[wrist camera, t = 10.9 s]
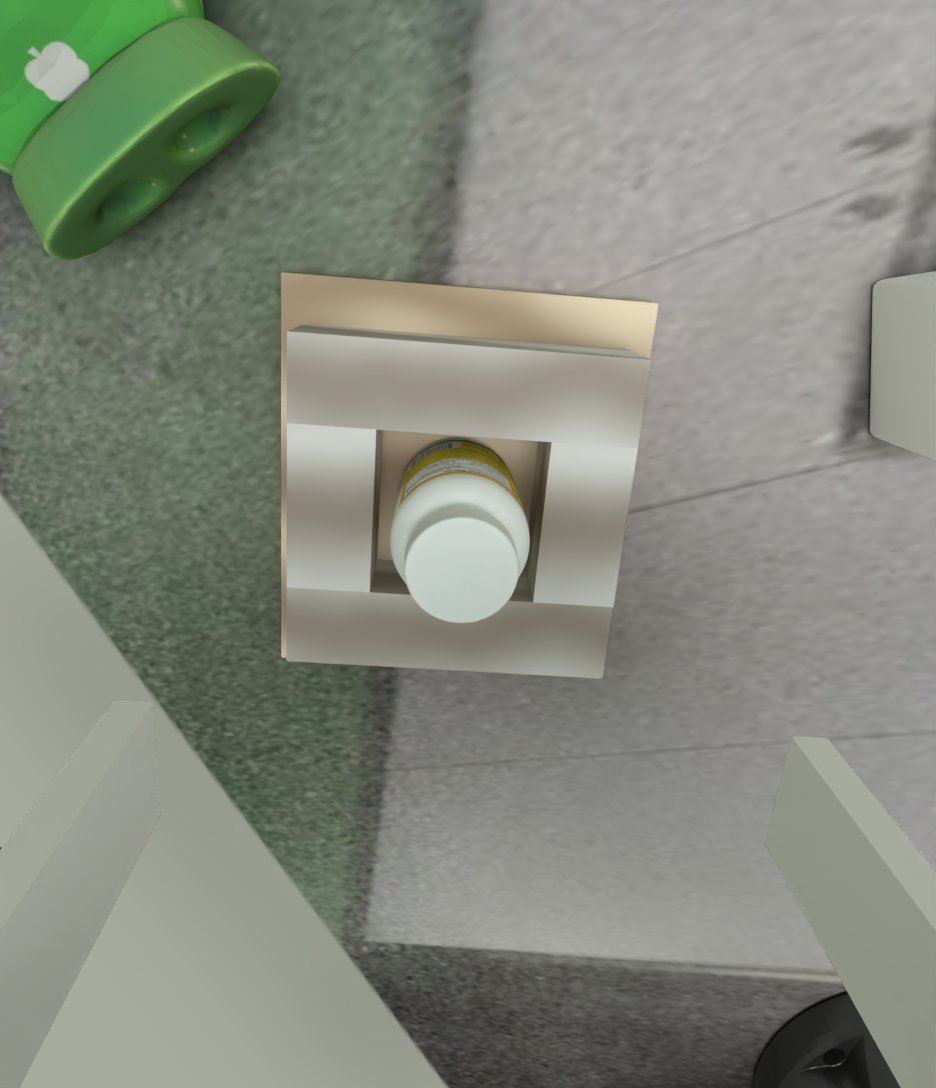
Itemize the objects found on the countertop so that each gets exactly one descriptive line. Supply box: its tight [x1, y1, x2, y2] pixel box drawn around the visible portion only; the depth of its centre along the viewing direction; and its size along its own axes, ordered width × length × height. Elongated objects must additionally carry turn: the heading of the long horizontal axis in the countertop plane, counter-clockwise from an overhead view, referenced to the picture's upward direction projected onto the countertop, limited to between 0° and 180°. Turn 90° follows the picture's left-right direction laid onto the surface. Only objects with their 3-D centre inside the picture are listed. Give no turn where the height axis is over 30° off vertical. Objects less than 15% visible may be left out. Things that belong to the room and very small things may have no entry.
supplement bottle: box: [390, 438, 530, 623], centre depth 32 cm, size 5×5×10 cm
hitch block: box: [281, 272, 658, 679], centre depth 35 cm, size 18×16×6 cm
